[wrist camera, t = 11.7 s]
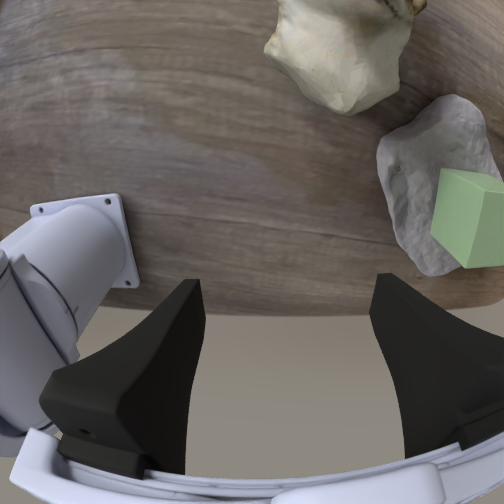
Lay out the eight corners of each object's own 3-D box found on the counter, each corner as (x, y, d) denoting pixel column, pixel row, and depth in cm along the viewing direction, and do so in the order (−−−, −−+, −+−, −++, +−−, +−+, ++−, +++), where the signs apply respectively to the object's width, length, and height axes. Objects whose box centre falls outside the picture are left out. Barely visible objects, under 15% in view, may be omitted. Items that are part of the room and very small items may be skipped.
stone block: (407, 260, 24) (496, 212, 19) (420, 295, 20) (521, 240, 15) (344, 144, 20) (450, 86, 15) (351, 161, 16) (480, 91, 11)
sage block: (429, 233, 17) (464, 269, 13) (440, 167, 15) (484, 190, 11) (475, 233, 17) (511, 265, 13) (487, 174, 14) (530, 197, 11)
